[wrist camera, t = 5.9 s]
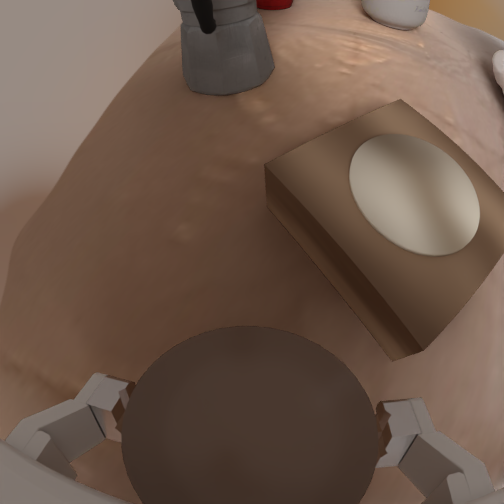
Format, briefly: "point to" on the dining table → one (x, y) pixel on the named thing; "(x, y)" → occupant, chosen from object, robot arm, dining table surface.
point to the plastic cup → (273, 4)
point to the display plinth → (392, 221)
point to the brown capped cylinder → (249, 423)
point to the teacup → (397, 12)
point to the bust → (499, 67)
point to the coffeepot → (223, 46)
